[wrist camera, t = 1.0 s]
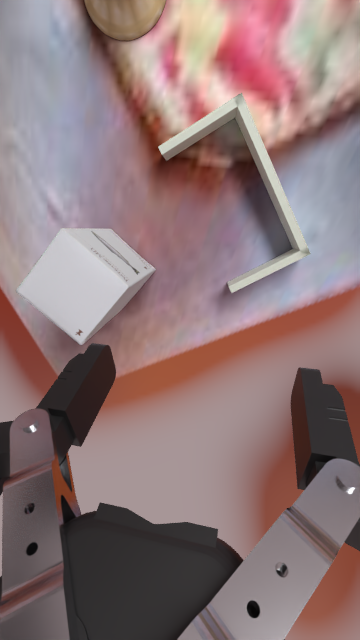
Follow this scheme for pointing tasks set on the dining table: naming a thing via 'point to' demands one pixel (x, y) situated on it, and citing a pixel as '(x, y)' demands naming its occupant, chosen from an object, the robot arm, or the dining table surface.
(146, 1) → the hand bell
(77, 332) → the supplement box
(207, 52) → the dining table surface
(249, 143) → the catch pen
